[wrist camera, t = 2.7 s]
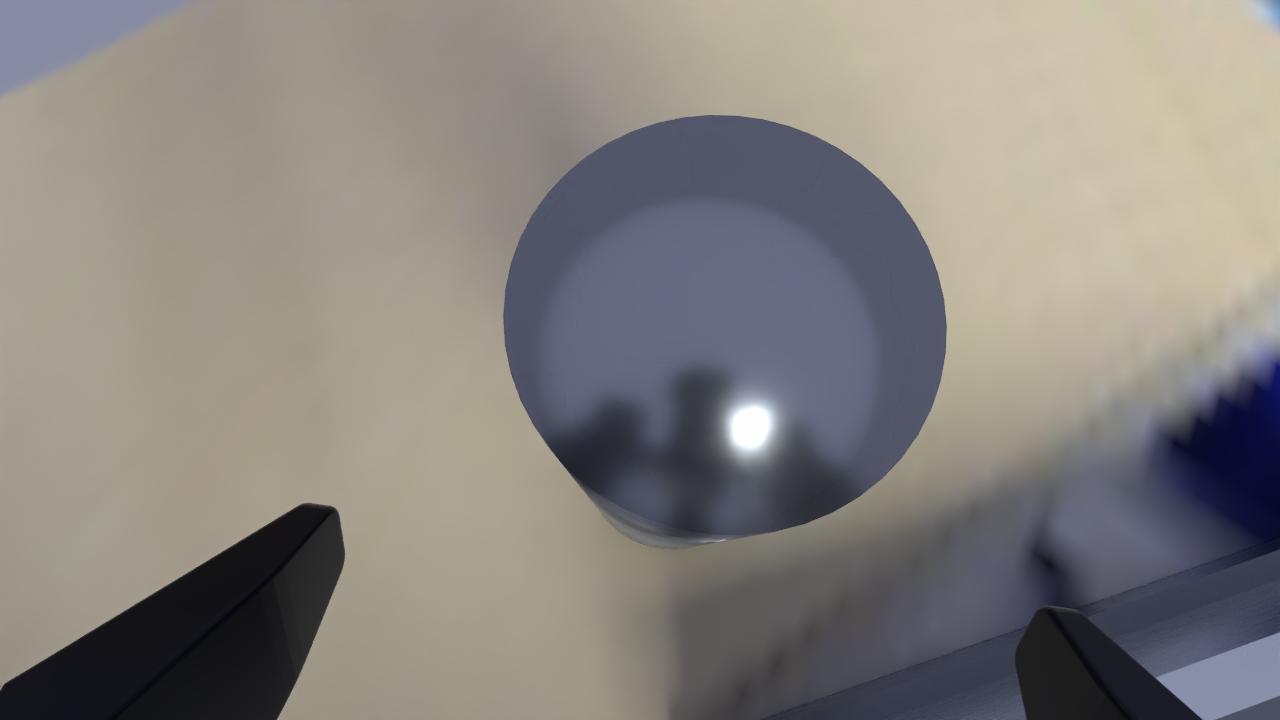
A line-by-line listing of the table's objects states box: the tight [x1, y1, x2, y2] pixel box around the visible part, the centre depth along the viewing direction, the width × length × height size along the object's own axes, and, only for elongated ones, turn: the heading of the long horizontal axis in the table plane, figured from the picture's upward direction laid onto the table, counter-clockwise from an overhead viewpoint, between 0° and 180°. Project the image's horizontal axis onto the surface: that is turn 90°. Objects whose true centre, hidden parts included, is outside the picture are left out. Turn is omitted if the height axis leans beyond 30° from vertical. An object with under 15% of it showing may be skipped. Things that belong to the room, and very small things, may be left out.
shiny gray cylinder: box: [503, 115, 947, 549], centre depth 13 cm, size 4×4×12 cm
